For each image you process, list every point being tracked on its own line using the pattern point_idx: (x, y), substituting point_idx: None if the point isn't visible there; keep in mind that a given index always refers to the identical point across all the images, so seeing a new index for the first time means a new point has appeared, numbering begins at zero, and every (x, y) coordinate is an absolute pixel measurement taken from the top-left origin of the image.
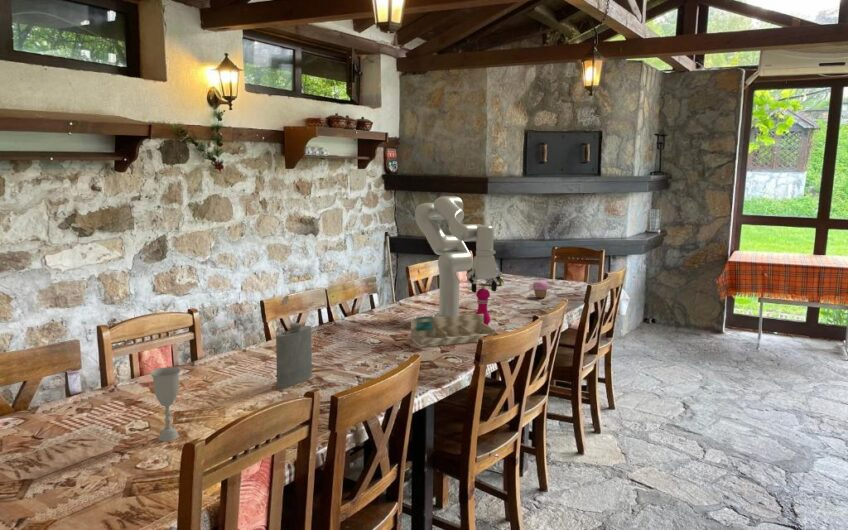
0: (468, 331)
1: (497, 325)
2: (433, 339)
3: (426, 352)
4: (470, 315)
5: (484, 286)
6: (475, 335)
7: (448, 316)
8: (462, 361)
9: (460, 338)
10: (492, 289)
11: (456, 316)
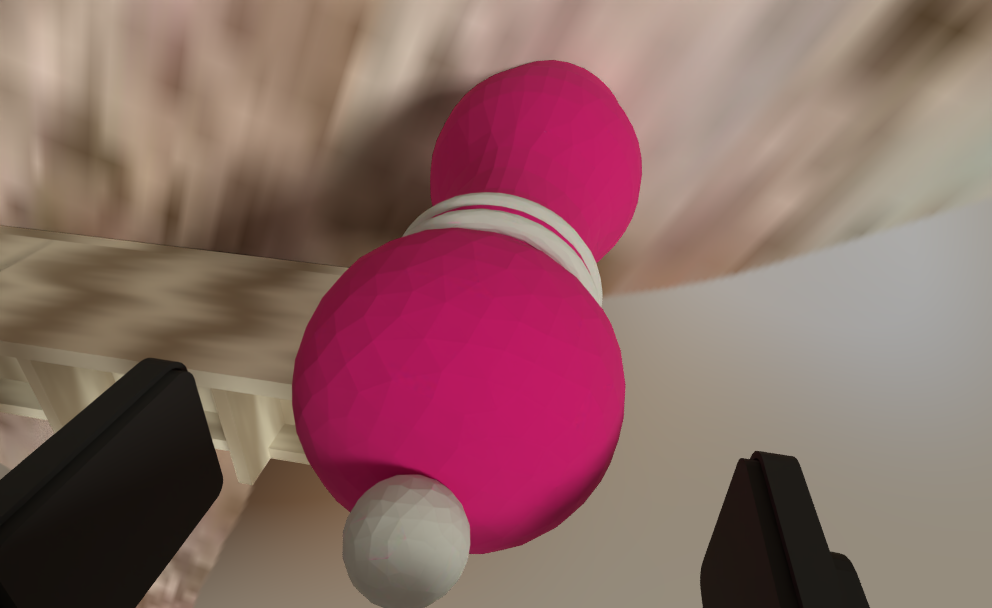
0: (237, 463)
1: (833, 57)
2: (15, 412)
3: (18, 453)
4: (254, 393)
5: (417, 602)
6: (301, 462)
7: (15, 344)
8: (177, 593)
9: None
10: (731, 528)
11: (100, 368)
